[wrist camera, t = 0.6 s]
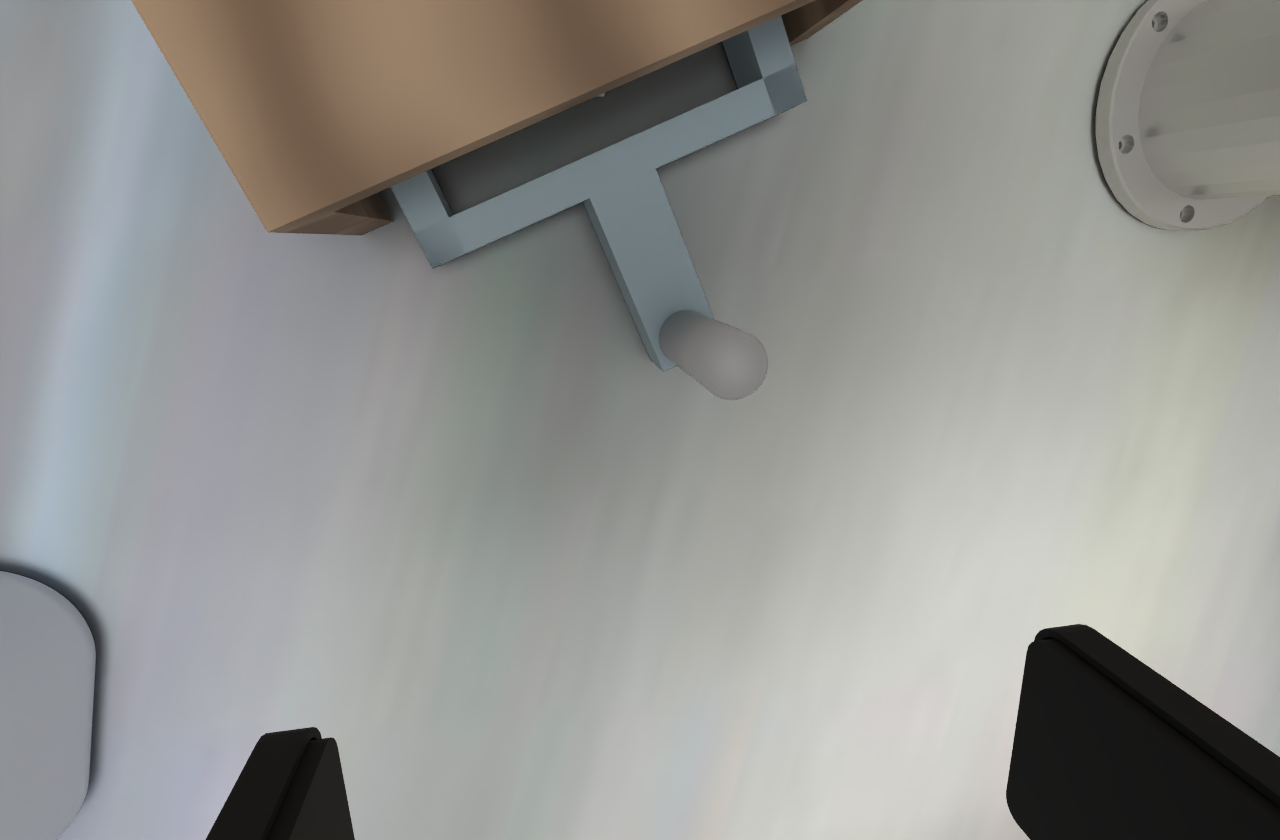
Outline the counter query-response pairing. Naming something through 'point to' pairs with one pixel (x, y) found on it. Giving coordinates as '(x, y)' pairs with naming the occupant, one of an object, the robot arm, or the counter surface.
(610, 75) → the small wooden table
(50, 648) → the plastic bottle
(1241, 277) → the counter surface
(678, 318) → the sliding frame
